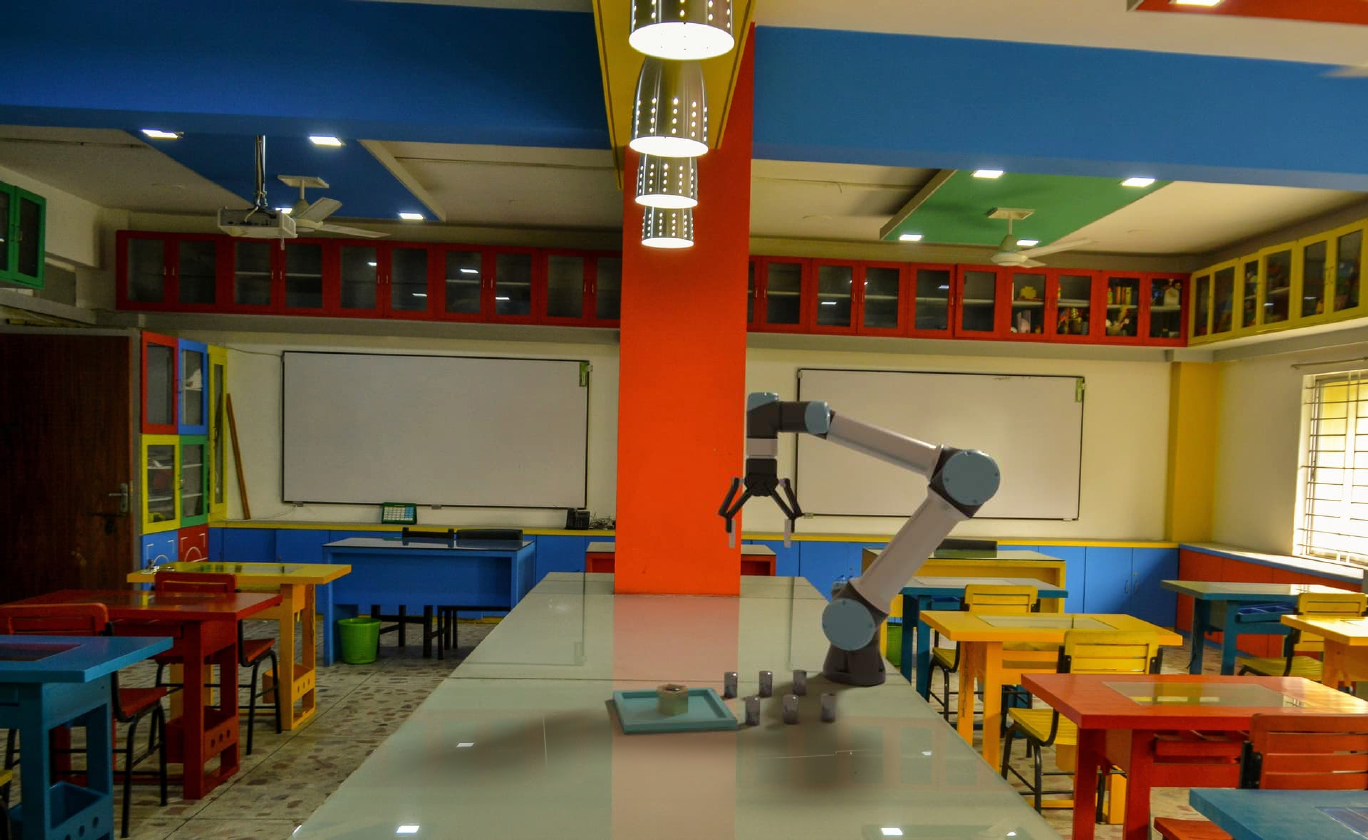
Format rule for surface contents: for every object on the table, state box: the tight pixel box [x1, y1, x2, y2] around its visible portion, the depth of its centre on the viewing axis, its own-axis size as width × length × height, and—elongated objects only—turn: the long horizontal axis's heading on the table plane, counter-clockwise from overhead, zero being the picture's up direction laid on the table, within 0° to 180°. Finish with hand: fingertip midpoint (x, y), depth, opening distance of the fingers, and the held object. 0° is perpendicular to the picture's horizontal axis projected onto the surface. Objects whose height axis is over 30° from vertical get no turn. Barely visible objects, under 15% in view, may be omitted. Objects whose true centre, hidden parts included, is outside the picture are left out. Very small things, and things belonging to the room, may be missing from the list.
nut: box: [656, 683, 689, 716], centre depth 172 cm, size 6×7×5 cm
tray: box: [612, 686, 739, 735], centre depth 172 cm, size 22×22×2 cm
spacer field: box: [723, 669, 837, 727], centre depth 178 cm, size 19×21×5 cm
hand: (759, 547), depth 197 cm, fingers open, 13 cm apart
